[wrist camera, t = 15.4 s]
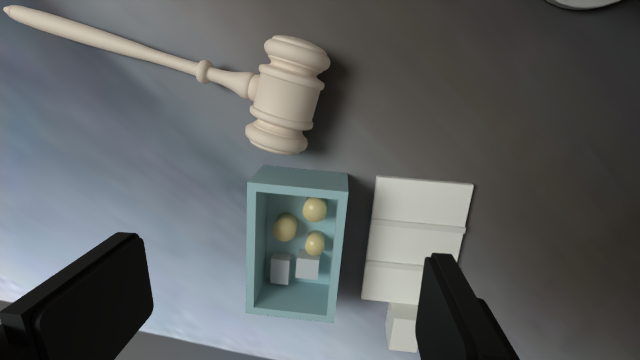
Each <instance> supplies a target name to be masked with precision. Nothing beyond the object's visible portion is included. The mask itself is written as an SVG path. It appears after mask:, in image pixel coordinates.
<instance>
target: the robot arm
mask: <svg viewBox="0 0 640 360" xmlns="http://www.w3.org/2000/svg"><path fill="white" fill-rule="evenodd" d="M546 1H547V2H549V3H551V4H554V5H556V6H558V7H561V8H566V9H572V10H589V9H593V8H598V7H602V6H606V5H609V4H612V3H615V2H618V1H620V0H546ZM153 306H154V305H153V297H152V291H151V285H150V279H149V272H148V266H147V260H146V253H145V247H144V242H143V239H142V238H139V236H138V234H136V233H124V232H117V233H115V234H114V235H112V236H111V237H109V238H108V239H106V240H105V241H103V242H102V243H101V244H99V245H98V246H96V247H95V248H93V249H92V250H90V251H89V252H87V253H86V254H84V255H83V256H81V257H80V258H78V259H77V260H75V261H74V262H73V263H71V264H70V265H68V266H67V267H65V268H64V269H62V270H61V271H59V272H58V273H56V274H55V275H53V276H52V277H50V278H49V279H47V280H46V281H45V282H43V283H42V284H40V285H39V286H37V287H36V288H34V289H33V290H31V291H30V292H28V293H27V294H25V295H24V296H22V297H21V298H20V299H18V300H17V301H15V302H14V303H12V304H11V305H9V306H8V307H6V308H5V309H3V310H2V311H0V319H1V322H2V324H1V325H0V360H114V359H115V358H116V357H117V355H118V354H119V353H120V352H121V351H122V349H123V348H124V347H125V346H126V345H127V343H128V342H129V341H130V340H131V339H132V337H133V336H134V335H135V334H136V332H137V331H138V330H139V329H140V328H141V326H142V325H143V324H144V323H145V322H146V320H147V319H148V318H149V317H150V315H151V314H152V311H153ZM415 336H416V341H417V345H418V349H419V353H420V357H421V360H520V359H519V357H518V356H517V354H516V352H515V351H514V349H513V347H512V346H511V344H510V342H509V341H508V339H507V337H506V335H505V334H504V332H503V330H502V329H501V327H500V325H499V324H498V322H497V320H496V319H495V317H494V315H493V314H492V312H491V310H490V309H489V307H488V305H487V304H486V302H485V301H484V300H483V299H481V298H477V297H476V296H475V294H474V292H473V290H472V289H471V287H470V285H469V283H468V282H467V280H466V278H465V276H464V274H463V273H462V271H461V269H460V267H459V266H458V264H457V262H456V260H455V259H454V257H453V255H452V254H447V253H432V254H431V257H425V261H424V267H423V274H422V281H421V289H420V296H419V303H418V310H417V317H416V324H415Z"/></svg>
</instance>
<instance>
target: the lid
mask: <svg viewBox="0 0 640 360" xmlns="http://www.w3.org/2000/svg"><path fill="white" fill-rule="evenodd" d="M473 187H474V185H473V184H471V183H460V182H448V181H437V180H426V179H415V178H403V177H392V176H381V175H376V183H375V191H374V198H373V206H372V214H371V221H370V229H369V237H368V244H367V252H366V260H365V268H364V275H363V283H362V291H361V299H365V300H375V301H384V302H389V306H388V312H387V319H386V325H385V329H386V335H387V341H388V347H389V350H397V351H406V352H414V353H416V351H417V346H418V345H417V341H416V336H415V324H416V317H417V310H418V307H417V305H418V303H419V296H420V289H421V281H422V274H423V267H424V261H425V257H431V254H432V253H447V254H452V255H453V257H454V259H455V260H456V262H457V260H458V255H459V251H460V246H461V241H462V237H463V233H464V234H465V231H466V228H465V223H466V219H467V214H468V210H469V205H470V201H471V196H472V191H473Z"/></svg>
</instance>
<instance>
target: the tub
mask: <svg viewBox="0 0 640 360" xmlns="http://www.w3.org/2000/svg"><path fill="white" fill-rule="evenodd" d="M347 201H348V173H338V172H327V171H317V170H306V169H295V168H285V167H274V166H264V165H263V166H262V167H261V168H260V169H259V170H258V171H257V173H256V174H255V175H254V176H253V177H252V178H251V179H250V180H249V181H248V182H247V247H246V313H248V314H257V315H266V316H275V317H284V318H292V319H301V320H310V321H319V322H327V323H334V318H335V309H336V300H337V291H338V282H339V273H340V264H341V255H342V246H343V237H344V228H345V219H346V210H347Z"/></svg>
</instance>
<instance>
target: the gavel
mask: <svg viewBox="0 0 640 360" xmlns="http://www.w3.org/2000/svg"><path fill="white" fill-rule="evenodd" d="M4 11H5V12H6V13H7V14H8V15H9V16H10V17H11V18H13V19H15V20H16V21H18V22H21V23H23V24H26V25H29V26H31V27H34V28H37V29H39V30H42V31H45V32H48V33H51V34H54V35H57V36H61V37H64V38H67V39H70V40H74V41H77V42H80V43H83V44H87V45H90V46H93V47H97V48H100V49H104V50H108V51H111V52H115V53H119V54H122V55H126V56H130V57H133V58H137V59H141V60H146V61H150V62H153V63H157V64H160V65H164V66H167V67H170V68H173V69H176V70H180V71H182V72H186V73H189V74H191V75H194V76H196V78H197V80H198V81H199V82H200V83H203V84H206V83H208V82H209V81H212V82H216V83H218V84H221V85H223V86H225V87H227V88H229V89H231V90H233V91H234V92H236V93H237V94H238V95H240V96H241V97H242V98H245V99H250V100H251V101H254V105H251V107H250V113H251V114H252V115H254V116H255V117H257V118H258V119H257V120H256V121H254V122H252V123H250V124H248V125H247V126H246V129H245V132H246V136H247V137H248V138H249V139H250V142H251V143H252V144H253V145H255V146H257V147H258V148H261V149H263V150H265V151H268V152H271V153H275V154H280V155H297V154H299V153H300V152H302V151H304V150H305V149H306V148H307V145H308V141H307V139H306V138H305V136H304V135H303V133H302V130H303V131H304V130H310V129H312V128H313V124H314V123H313V122H312V119H313V115H314V112H315V108H316V105H317V101H318V98H319V94H320V91H321V90H323V89H324V83H323V82H322V81H320V80H319V79H318V78H317V75H318V74H320V73H322V71H325V70H327V69H328V68H329V66H330V59H329V58H328V57H327V53H326V52H325V51H324V50H323V49H322V48H320V47H318V46H316V45H315V44H313V43H311V42H308V41H306V40H303V39H300V38H296V37H292V36H283V35H277V36H274V37H273V38H272V39H269V40H267V41H266V42H265V45H264V48H265V51H266V53H267V54H268V57H269V58H270V60H271V63H270V64H261V65H260V66H259V71H260V72H261V73H260V75H259V74H258V75H255V74H254V73H252V72H231V71H225V70H220V69H217V68H213V65H212V63H211V62H210V61H208V60H202V61H200V62H199V63H197V62H193V61H190V60H186V59H183V58H180V57H176V56H173V55H170V54H167V53H164V52H161V51H158V50H155V49H152V48H149V47H147V46H144V45H142V44H139V43H136V42H134V41H131V40H128V39H125V38H122V37H120V36H117V35H114V34H111V33H108V32H106V31H103V30H100V29H97V28H94V27H91V26H88V25H85V24H81V23H78V22H75V21H72V20H69V19H66V18H63V17H60V16H56V15H53V14H50V13H46V12H43V11H39V10H35V9H31V8H27V7H23V6H17V5H10V6H8V7H4Z"/></svg>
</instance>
